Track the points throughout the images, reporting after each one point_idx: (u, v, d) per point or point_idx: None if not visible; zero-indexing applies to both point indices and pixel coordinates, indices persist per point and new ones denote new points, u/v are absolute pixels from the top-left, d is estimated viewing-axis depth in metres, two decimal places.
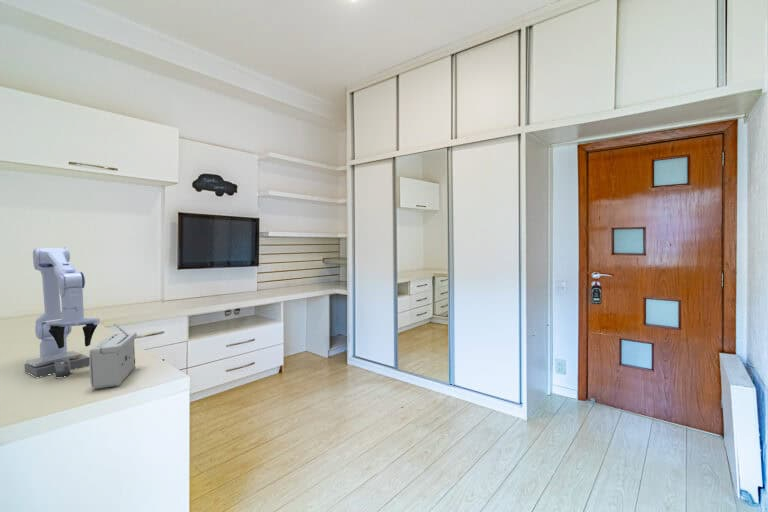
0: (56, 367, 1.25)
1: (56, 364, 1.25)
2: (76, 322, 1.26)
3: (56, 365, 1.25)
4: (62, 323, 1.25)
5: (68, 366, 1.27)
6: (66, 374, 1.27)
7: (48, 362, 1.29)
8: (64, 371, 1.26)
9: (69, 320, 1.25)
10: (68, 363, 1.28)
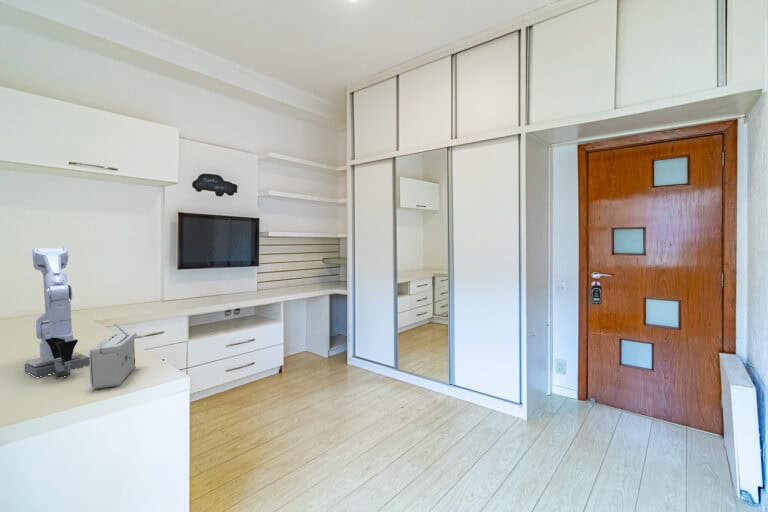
0: (56, 367, 1.25)
1: (56, 364, 1.25)
2: (53, 336, 1.24)
3: (56, 365, 1.25)
4: (49, 335, 1.26)
5: (68, 366, 1.27)
6: (66, 374, 1.27)
7: (48, 362, 1.29)
8: (64, 371, 1.26)
9: (50, 333, 1.24)
10: (68, 363, 1.28)
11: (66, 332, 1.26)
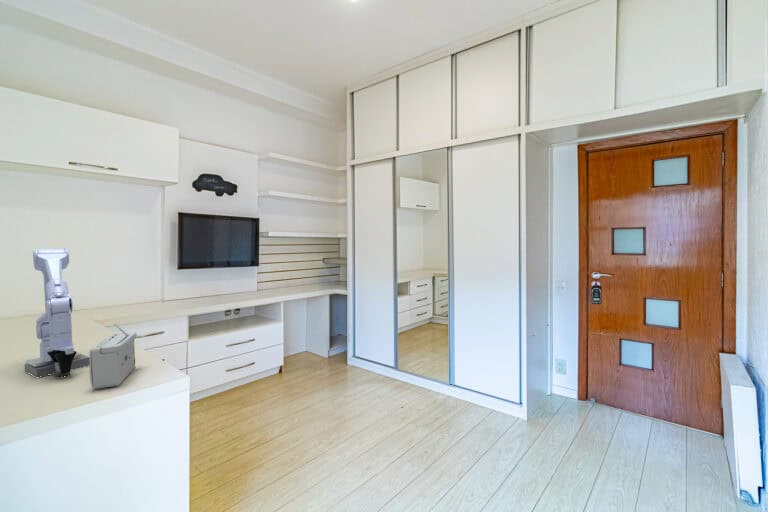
0: (56, 367, 1.25)
1: (56, 364, 1.25)
2: (54, 348, 1.24)
3: (56, 365, 1.25)
4: (50, 347, 1.26)
5: None
6: (66, 374, 1.27)
7: (48, 362, 1.29)
8: None
9: (51, 345, 1.25)
10: None
11: (67, 344, 1.26)
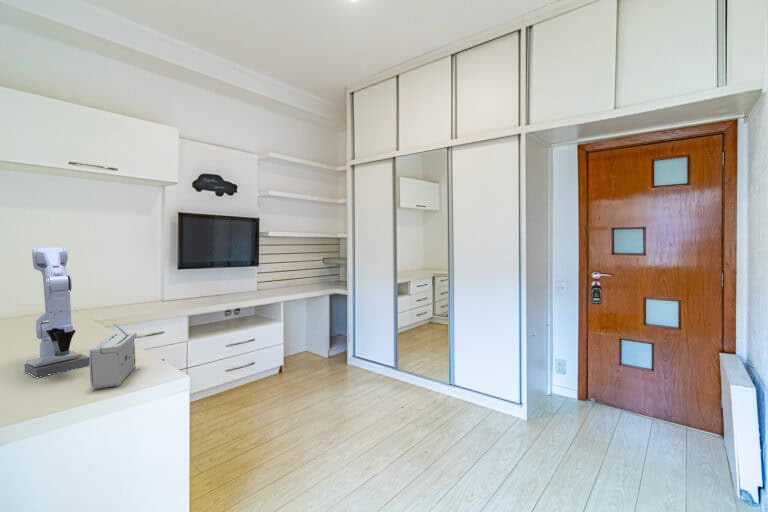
0: (55, 345, 1.25)
1: (55, 342, 1.25)
2: (53, 327, 1.24)
3: (55, 343, 1.25)
4: None
5: None
6: (65, 353, 1.27)
7: (48, 362, 1.29)
8: None
9: (49, 323, 1.24)
10: None
11: (66, 323, 1.26)
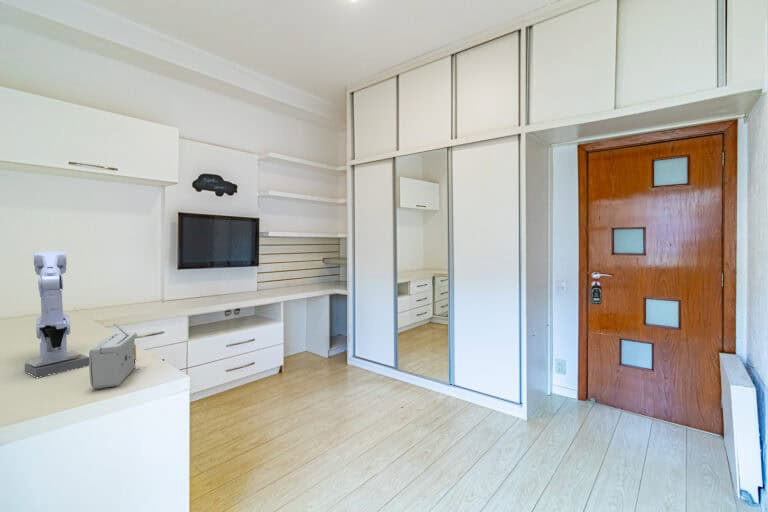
0: (47, 341, 1.32)
1: (47, 339, 1.32)
2: (45, 324, 1.30)
3: (47, 340, 1.32)
4: None
5: None
6: (57, 348, 1.33)
7: (48, 362, 1.29)
8: None
9: (42, 321, 1.31)
10: None
11: (58, 320, 1.32)
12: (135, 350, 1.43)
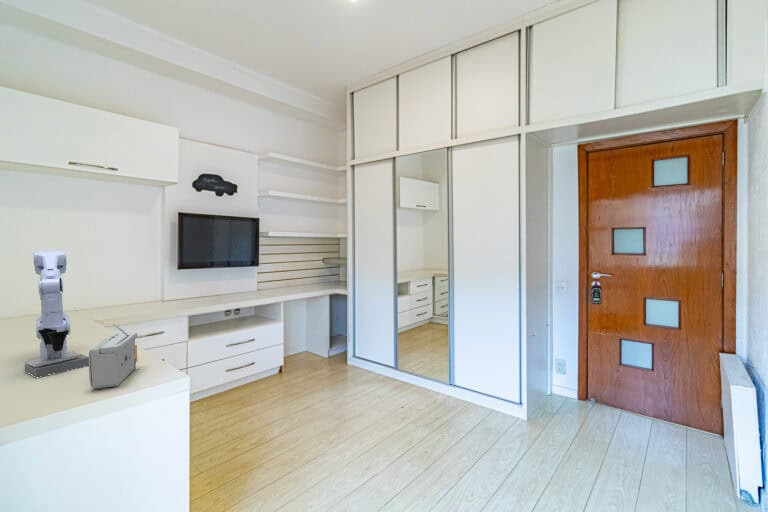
0: (48, 349, 1.32)
1: (48, 346, 1.32)
2: (45, 327, 1.30)
3: (48, 347, 1.32)
4: None
5: None
6: (57, 356, 1.33)
7: (48, 362, 1.29)
8: (55, 353, 1.32)
9: (42, 324, 1.31)
10: None
11: (58, 323, 1.32)
12: (136, 350, 1.43)
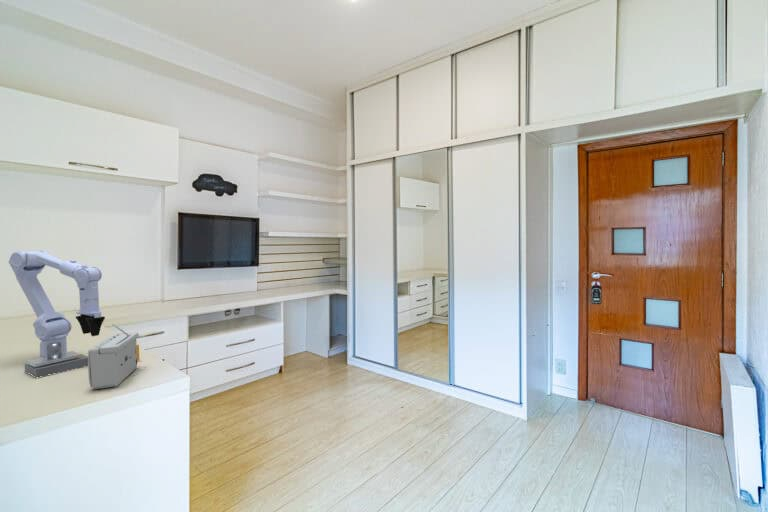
0: (48, 349, 1.32)
1: (48, 346, 1.32)
2: (84, 313, 1.39)
3: (48, 347, 1.32)
4: (79, 312, 1.41)
5: (59, 348, 1.34)
6: (57, 355, 1.33)
7: (48, 362, 1.29)
8: (55, 353, 1.32)
9: (80, 310, 1.40)
10: (59, 345, 1.34)
11: (94, 310, 1.41)
12: (138, 350, 1.43)
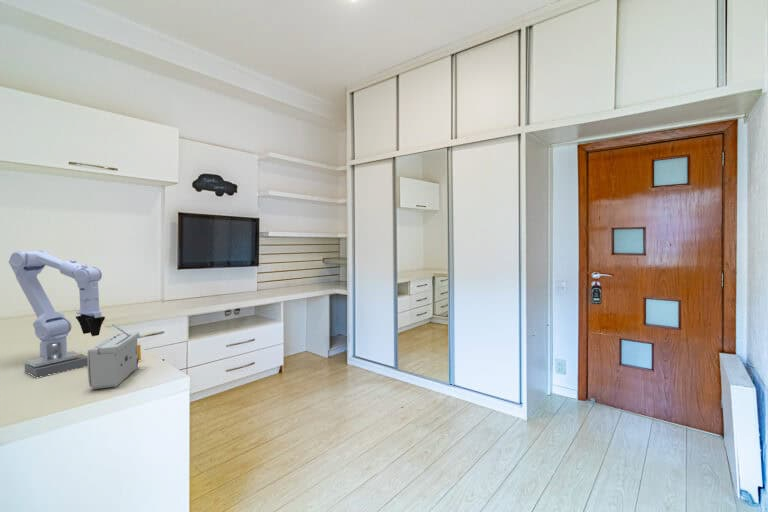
0: (48, 349, 1.32)
1: (48, 346, 1.32)
2: (84, 313, 1.39)
3: (48, 347, 1.32)
4: (79, 312, 1.41)
5: (59, 348, 1.34)
6: (57, 355, 1.33)
7: (48, 362, 1.29)
8: (55, 353, 1.32)
9: (81, 310, 1.40)
10: (59, 345, 1.34)
11: (95, 310, 1.41)
12: (139, 350, 1.42)
